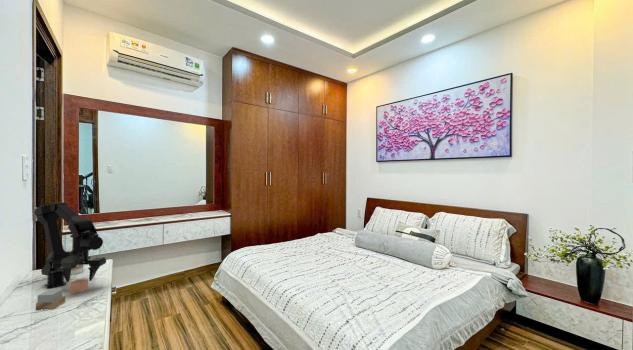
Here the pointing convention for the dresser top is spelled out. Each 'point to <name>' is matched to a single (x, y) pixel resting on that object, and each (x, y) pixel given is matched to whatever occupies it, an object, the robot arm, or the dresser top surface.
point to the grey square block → (49, 296)
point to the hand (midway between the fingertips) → (79, 281)
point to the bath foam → (79, 267)
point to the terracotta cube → (78, 285)
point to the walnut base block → (50, 304)
